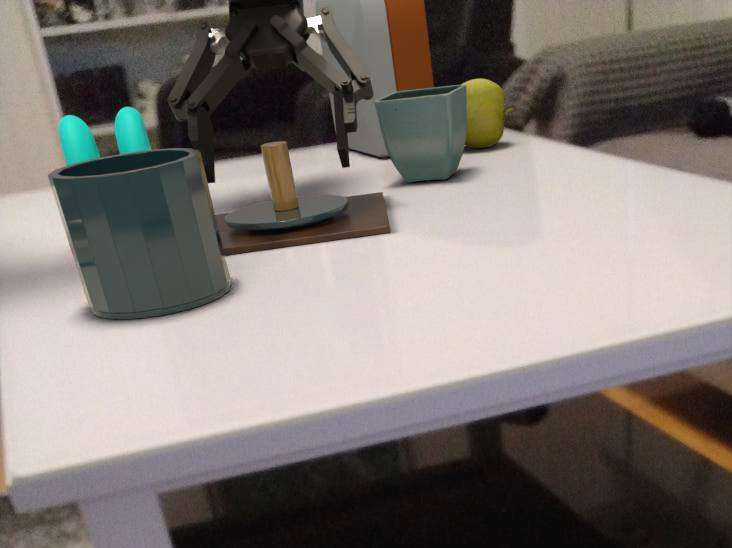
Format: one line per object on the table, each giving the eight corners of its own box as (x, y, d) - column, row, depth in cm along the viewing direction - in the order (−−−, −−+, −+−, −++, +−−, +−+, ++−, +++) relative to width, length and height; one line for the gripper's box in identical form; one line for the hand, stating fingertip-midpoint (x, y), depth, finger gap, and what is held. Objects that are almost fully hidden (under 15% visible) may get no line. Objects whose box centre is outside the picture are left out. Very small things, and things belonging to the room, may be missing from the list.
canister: (78, 327, 81) (32, 185, 75) (105, 289, 90) (66, 160, 85) (224, 306, 81) (189, 164, 75) (236, 271, 91) (206, 142, 85)
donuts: (84, 197, 134) (59, 113, 129) (161, 185, 136) (139, 101, 130) (79, 210, 126) (51, 121, 121) (160, 197, 128) (137, 109, 122)
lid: (221, 242, 99) (202, 162, 95) (232, 216, 109) (216, 143, 105) (350, 225, 99) (337, 144, 95) (349, 200, 110) (337, 127, 106)
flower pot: (405, 173, 124) (393, 90, 119) (475, 167, 122) (467, 82, 117) (385, 188, 117) (372, 101, 112) (459, 183, 115) (450, 93, 110)
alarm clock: (443, 148, 137) (422, -35, 125) (382, 160, 134) (355, -26, 122) (392, 137, 151) (369, -29, 139) (336, 147, 148) (308, -21, 137)
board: (181, 261, 97) (179, 254, 96) (202, 222, 112) (200, 216, 111) (390, 232, 97) (389, 225, 97) (383, 197, 112) (382, 191, 112)
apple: (517, 148, 130) (511, 77, 126) (446, 156, 131) (438, 86, 126) (515, 139, 137) (510, 71, 132) (448, 147, 137) (440, 80, 133)
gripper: (390, -2, 108) (405, 176, 104) (158, 26, 109) (164, 204, 105) (380, -64, 100) (395, 125, 96) (131, -33, 101) (136, 155, 97)
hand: (275, 166), depth 100 cm, fingers open, 13 cm apart
